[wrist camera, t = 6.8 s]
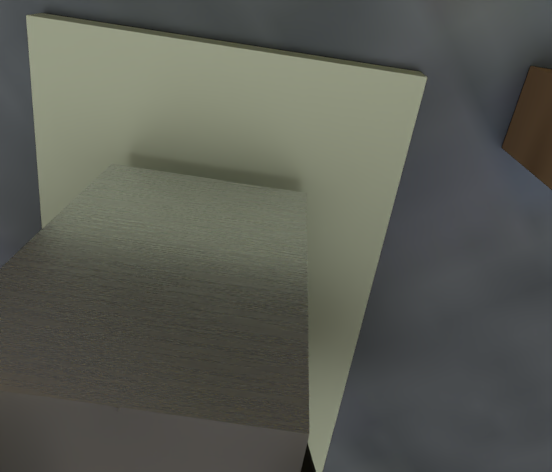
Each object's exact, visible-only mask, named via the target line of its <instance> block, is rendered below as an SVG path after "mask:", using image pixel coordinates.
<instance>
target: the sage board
mask: <svg viewBox="0 0 552 472" xmlns="http://www.w3.org/2000/svg"><path fill="white" fill-rule="evenodd" d="M26 19H27V33H28V46H29V60H30V73H31V87H32V100H33V114H34V127H35V141H36V154H37V168H38V181H39V195H40V208H41V222H42V229H43V228H44V227H45V226H46V225H47V224H48V223H49V222H50V221H51V220H52V219H53V218H54V217H55V216H57V215H58V214H59V213H60V212H61V211H62V210H63V209H64V208H65V207H66V206H67V205H68V204H69V203H70V202H71V201H73V200H74V199H75V198H76V197H77V196H78V195H79V194H80V193H81V192H82V191H83V190H84V189H85V188H86V187H87V186H88V185H90V184H91V183H92V182H93V181H94V180H95V179H96V178H97V177H98V176H99V175H100V174H101V173H102V172H103V171H104V170H105V169H107V168H108V167H109V166H110V165H111V164H116V165H123V166H130V167H136V168H143V169H150V170H156V171H163V172H170V173H176V174H183V175H190V176H196V177H203V178H210V179H216V180H223V181H230V182H236V183H243V184H250V185H256V186H263V187H270V188H276V189H283V190H290V191H296V192H303V193H307V272H308V356H309V438H308V446H309V450H310V453H311V456H312V460H313V463H314V466H315V470H316V472H322V471H323V467H324V464H325V460H326V456H327V452H328V449H329V445H330V441H331V437H332V434H333V430H334V426H335V422H336V419H337V415H338V411H339V407H340V404H341V400H342V396H343V392H344V389H345V385H346V381H347V377H348V373H349V370H350V366H351V362H352V358H353V355H354V351H355V347H356V343H357V340H358V336H359V332H360V328H361V325H362V321H363V317H364V313H365V310H366V306H367V302H368V298H369V295H370V291H371V287H372V283H373V279H374V276H375V272H376V268H377V264H378V261H379V257H380V253H381V249H382V246H383V242H384V238H385V234H386V231H387V227H388V223H389V219H390V216H391V212H392V208H393V204H394V201H395V197H396V193H397V189H398V185H399V182H400V178H401V174H402V170H403V167H404V163H405V159H406V155H407V152H408V148H409V144H410V140H411V137H412V133H413V129H414V125H415V122H416V118H417V114H418V110H419V107H420V103H421V99H422V95H423V91H424V88H425V84H426V80H427V77H426V76H425V75H424V74H422V73H421V72H419V71H413V70H406V69H400V68H393V67H387V66H380V65H374V64H368V63H361V62H355V61H348V60H342V59H335V58H329V57H322V56H316V55H309V54H303V53H297V52H290V51H284V50H277V49H271V48H264V47H258V46H251V45H245V44H238V43H232V42H226V41H219V40H213V39H206V38H200V37H193V36H187V35H180V34H174V33H168V32H161V31H155V30H148V29H142V28H135V27H129V26H122V25H116V24H109V23H103V22H97V21H90V20H84V19H77V18H71V17H64V16H58V15H51V14H45V13H40V14H32V15H26Z"/></svg>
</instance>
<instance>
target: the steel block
mask: <svg viewBox="0 0 552 472" xmlns="http://www.w3.org/2000/svg"><path fill="white" fill-rule="evenodd" d="M308 438H309V356H308V272H307V193H303V192H296V191H290V190H283V189H276V188H270V187H263V186H256V185H250V184H243V183H236V182H230V181H223V180H216V179H210V178H203V177H196V176H190V175H183V174H176V173H170V172H163V171H156V170H150V169H143V168H136V167H130V166H123V165H116V164H111V165H110V166H109V167H108V168H107V169H105V170H104V171H103V172H102V173H101V174H100V175H99V176H98V177H97V178H96V179H95V180H94V181H93V182H92V183H91V184H90V185H88V186H87V187H86V188H85V189H84V190H83V191H82V192H81V193H80V194H79V195H78V196H77V197H76V198H75V199H74V200H73V201H71V202H70V203H69V204H68V205H67V206H66V207H65V208H64V209H63V210H62V211H61V212H60V213H59V214H58V215H57V216H55V217H54V218H53V219H52V220H51V221H50V222H49V223H48V224H47V225H46V226H45V227H44V228H43V229H42V230H41V231H40V232H38V233H37V234H36V235H35V236H34V237H33V238H32V239H31V240H30V241H29V242H28V243H27V244H26V245H25V246H24V247H23V248H21V249H20V250H19V251H18V252H17V253H16V254H15V255H14V256H13V257H12V258H11V259H10V260H9V261H8V262H7V263H5V264H4V265H3V266H2V267H1V268H0V472H301V468H302V463H303V459H304V455H305V451H306V447H307V442H308Z"/></svg>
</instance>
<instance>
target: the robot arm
mask: <svg viewBox="0 0 552 472" xmlns="http://www.w3.org/2000/svg"><path fill="white" fill-rule="evenodd" d="M301 472H316V470H315V466H314V463H313V460H312V456H311V453H310V450H309V446H308V442H307V447H306V451H305V455H304V459H303V463H302V468H301Z"/></svg>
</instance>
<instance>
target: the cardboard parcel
mask: <svg viewBox="0 0 552 472" xmlns="http://www.w3.org/2000/svg"><path fill="white" fill-rule="evenodd" d="M502 149H504V150H505V151H506V152H507V153H508V154H510V155H511V156H512V157H513V158H514V159H516V160H517V161H518V162H519V163H520V164H522V165H523V166H524V167H525V168H526V169H527V170H529V171H530V172H531V173H532V174H533V175H535V176H536V177H537V178H538V179H539V180H541V181H542V182H543V183H544V184H545V185H547V186H548V187H549V188H550V189H551V190H552V69H547V68H540V67H534V66H530V69H529V72H528V75H527V78H526V80H525V83H524V86H523V89H522V92H521V95H520V97H519V100H518V103H517V106H516V109H515V112H514V115H513V117H512V120H511V123H510V126H509V129H508V132H507V134H506V137H505V140H504V143H503V146H502Z"/></svg>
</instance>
